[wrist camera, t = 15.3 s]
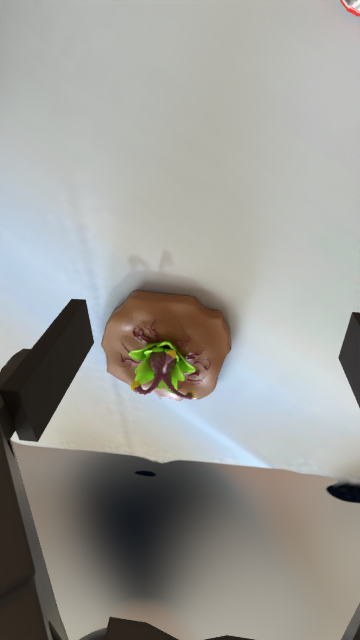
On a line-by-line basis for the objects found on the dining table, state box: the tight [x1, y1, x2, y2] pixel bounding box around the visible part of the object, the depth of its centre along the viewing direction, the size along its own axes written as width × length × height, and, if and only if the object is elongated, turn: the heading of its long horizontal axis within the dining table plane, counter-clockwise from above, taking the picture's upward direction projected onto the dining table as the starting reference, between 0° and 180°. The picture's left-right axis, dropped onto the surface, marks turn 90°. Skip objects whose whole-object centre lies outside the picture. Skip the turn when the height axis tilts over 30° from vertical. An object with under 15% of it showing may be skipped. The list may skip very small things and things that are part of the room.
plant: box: [101, 291, 231, 401], centre depth 50 cm, size 20×20×11 cm
